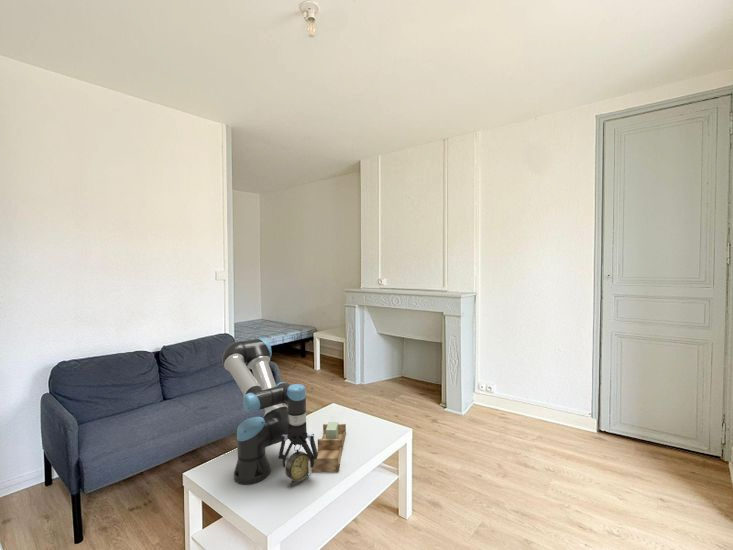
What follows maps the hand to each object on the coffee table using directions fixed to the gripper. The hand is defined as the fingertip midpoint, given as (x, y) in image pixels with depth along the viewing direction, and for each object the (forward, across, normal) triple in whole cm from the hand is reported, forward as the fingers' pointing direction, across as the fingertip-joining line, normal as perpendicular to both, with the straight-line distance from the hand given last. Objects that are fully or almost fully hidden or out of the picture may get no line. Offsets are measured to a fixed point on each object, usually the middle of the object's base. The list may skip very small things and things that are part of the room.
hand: (298, 474), depth 149 cm
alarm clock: (+3, 0, 0) cm, 3 cm away
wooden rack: (+3, +10, +23) cm, 25 cm away
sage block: (+2, +10, +31) cm, 32 cm away
